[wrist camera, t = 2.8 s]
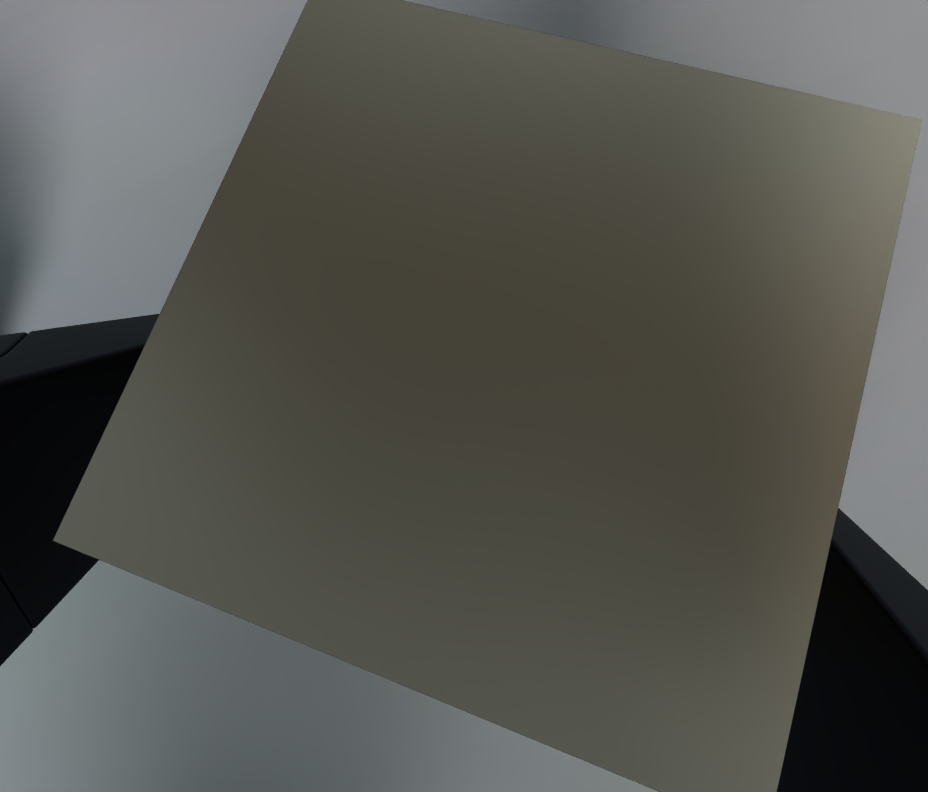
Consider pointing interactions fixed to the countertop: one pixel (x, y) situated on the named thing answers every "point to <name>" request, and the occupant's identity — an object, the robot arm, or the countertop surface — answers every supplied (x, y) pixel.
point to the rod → (519, 382)
